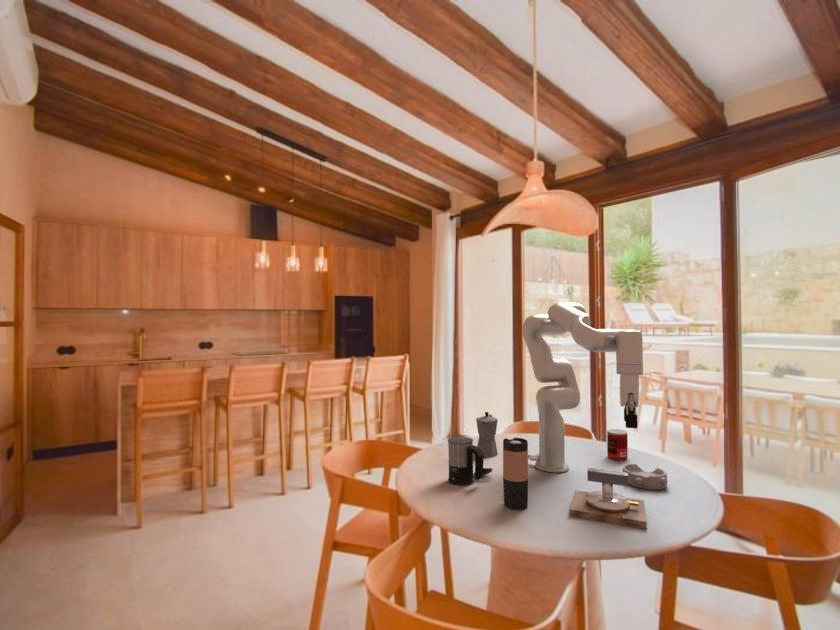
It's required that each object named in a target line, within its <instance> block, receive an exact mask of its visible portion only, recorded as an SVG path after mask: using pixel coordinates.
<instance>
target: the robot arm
mask: <svg viewBox="0 0 840 630" xmlns="http://www.w3.org/2000/svg"><path fill="white" fill-rule="evenodd" d="M591 322H592V321H591V318H590V316H589V315H588V314H587V310H586V308H585V307H584V306H583V305H582V304H580V303H577V302H556V303H553V304H552V305H550V307H549V308H548V310H547V313H546V314H545V313H544V314H539V313H538V314H531V315H529V316H528V317H526V318H525V320H524V321H523V324H522V328H521V329H522V330H521V331H522V337H523V339H524V342H525V345H526V347H527V350H528V352H529V358H530V362H531V365H532V370H533V371H532V372H533V375H534V378H535V380H536V381H537V382H538V383H541V384H552V383H553V384H554V383H557V384H558V385H557V384H556V385H546V386H543V387H541V388H539V389H538V390H537V392H536V395H535V401H536V407H537V413H538V440H539V441H538V453H537V454H532V453H528V460H529V461H532V462H533V461H534V462H535V464H534V467H535V468H536V469H538V470H540V471H543V472H547V473H554V474H556V473H565V472H567V471H569V469H570V466H569V464H568V463H566V458H565V456H566V455H565V420H564V417H563V416H562V414H561V412H560V411H564V410H572V409H576V408H577V407H578V406H579V405H580V402H581V395H580V394H581V393H580V389H579V385H578V383H577V381H578V380H577V377H576V373H575V370H574V367H573V365H572V364H571V362H570V361H568V359H565V358H554V356H553V354H552V349H551V346H550V345H549V344H548V342H547V341H546V339H544V338H543V336H562V335H565V334H566V333H571V337H572V339H573V340H574V342H575V343H576V344H577V345H578V346H580V347H582V348H583V349H585V350H587V351H589V352H593V353H615V356H616V357H615V362H616V365H615V366H616V374H617V375H619V404H620V406H621V407H624V408H623V420H624V422H625V428H626V429H638V414H637V408H638V407H639V401H640V376H643V375H644V358H643V356H644V353H643V348H644V347H643V345H644V343H643V333H642V332H641V331H640V330H638V329H618V328H598V329H596V328H594V327H591V324H592V323H591Z"/></svg>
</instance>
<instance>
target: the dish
mask: <svg viewBox="0 0 840 630" xmlns="http://www.w3.org/2000/svg"><path fill="white" fill-rule="evenodd" d="M622 472H626V473H628V485H631V486H633V487H636V488H638V489H643V490H644V489H645V490H663V489H665V488H667V486H668V475H667V474H668V473H667V471H665V470H664V469H662V468H659V467H656V468H655V469H654V470H653V471H651V472H650V471H645V470H644V469H642V468H641V467H640V466H639V465H638V464H637V463H627V464H625V465H624V466H623V467H622Z"/></svg>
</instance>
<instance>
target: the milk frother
mask: <svg viewBox="0 0 840 630" xmlns="http://www.w3.org/2000/svg"><path fill="white" fill-rule="evenodd" d="M473 442H474V438H471V437H467V436H452V437H449V438H447V443H448V449H447V450H448V479H447V480H448V481H447V482H448V483H450V484H452V485H455V486H467V485H472V484H474V482H475V480H476V481H479V480H481V479H483V477H484V476H486V475H488V474H491V472H493V468H491V467H488V468H487V467H484V458H485V457H484V456H483V452H482V450H481V449H480V448H479V447H477V445H474V444H473ZM474 458H475V459H474ZM474 464H475V465H474Z"/></svg>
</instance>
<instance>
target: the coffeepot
mask: <svg viewBox="0 0 840 630" xmlns="http://www.w3.org/2000/svg"><path fill="white" fill-rule="evenodd" d="M484 415H485V416H479V417H476V419H475V420H476V421H475V422H476V427H477V433H478V440H477V445H476V446H477V447H479V448H480V449H481V450H482V452H483V456H484V458H494V456H495V457H497V456H498V448H497V442H496V438H495V437H496V436H497V435H496V434H497V428H498V418H497V417H493V414H489V412H488V411H485V412H484ZM496 455H497V456H496Z"/></svg>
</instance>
